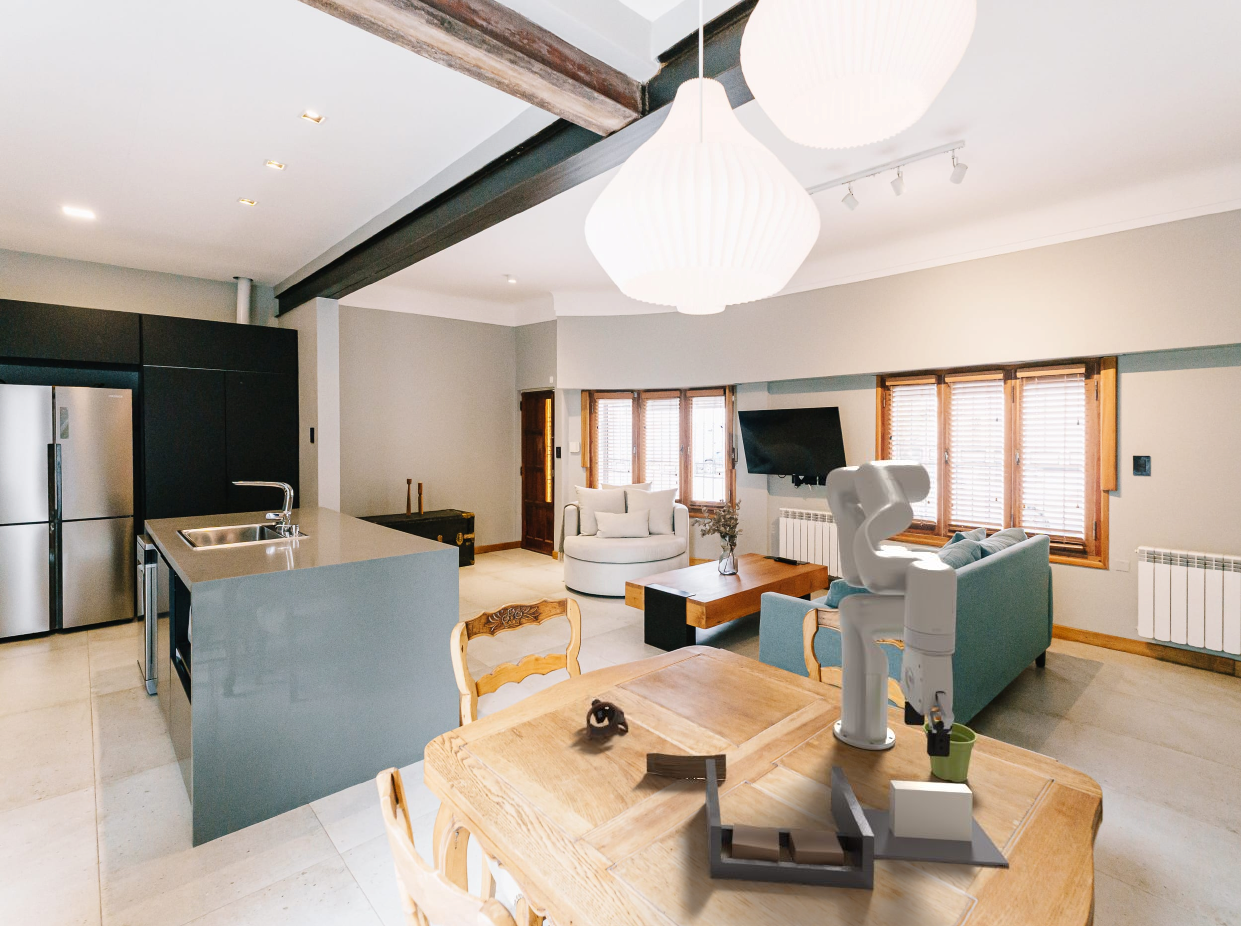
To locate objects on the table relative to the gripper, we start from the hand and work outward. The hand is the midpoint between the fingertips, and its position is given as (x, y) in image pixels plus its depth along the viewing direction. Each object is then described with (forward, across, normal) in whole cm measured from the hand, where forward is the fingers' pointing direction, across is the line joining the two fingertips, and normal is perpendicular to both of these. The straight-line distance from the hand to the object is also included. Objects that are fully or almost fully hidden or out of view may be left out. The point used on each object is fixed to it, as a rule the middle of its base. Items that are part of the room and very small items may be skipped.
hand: (925, 739), depth 100 cm
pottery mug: (+17, -29, -57) cm, 66 cm away
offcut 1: (+16, +10, -29) cm, 34 cm away
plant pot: (+17, -19, +12) cm, 28 cm away
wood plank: (+17, -13, -39) cm, 45 cm away
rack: (+16, +5, -24) cm, 29 cm away
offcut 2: (+16, +10, -20) cm, 27 cm away
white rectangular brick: (+16, +1, +1) cm, 16 cm away
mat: (+16, +1, 0) cm, 16 cm away
